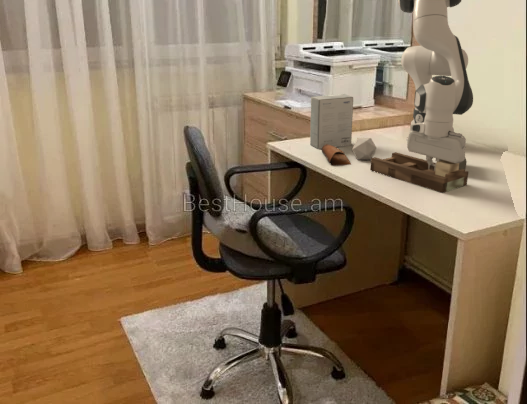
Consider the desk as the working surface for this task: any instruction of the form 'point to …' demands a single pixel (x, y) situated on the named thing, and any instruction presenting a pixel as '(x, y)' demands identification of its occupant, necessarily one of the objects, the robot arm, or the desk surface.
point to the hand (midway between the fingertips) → (433, 170)
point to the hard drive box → (331, 120)
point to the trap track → (418, 172)
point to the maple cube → (445, 167)
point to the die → (364, 148)
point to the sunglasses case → (335, 155)
